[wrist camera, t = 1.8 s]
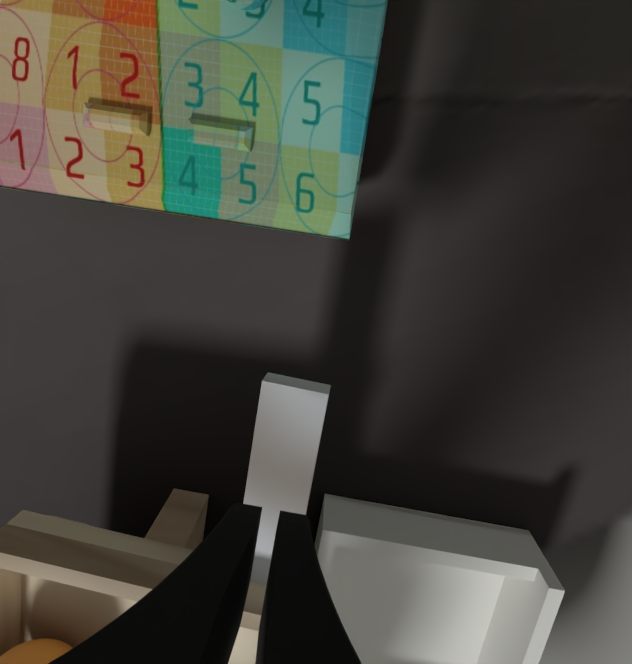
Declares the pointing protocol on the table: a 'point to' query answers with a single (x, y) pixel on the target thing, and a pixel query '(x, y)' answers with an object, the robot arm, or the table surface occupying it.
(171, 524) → the tan flat block
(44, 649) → the ball
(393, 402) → the table surface
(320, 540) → the bin
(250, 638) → the tipping tray
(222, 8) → the puzzle game
